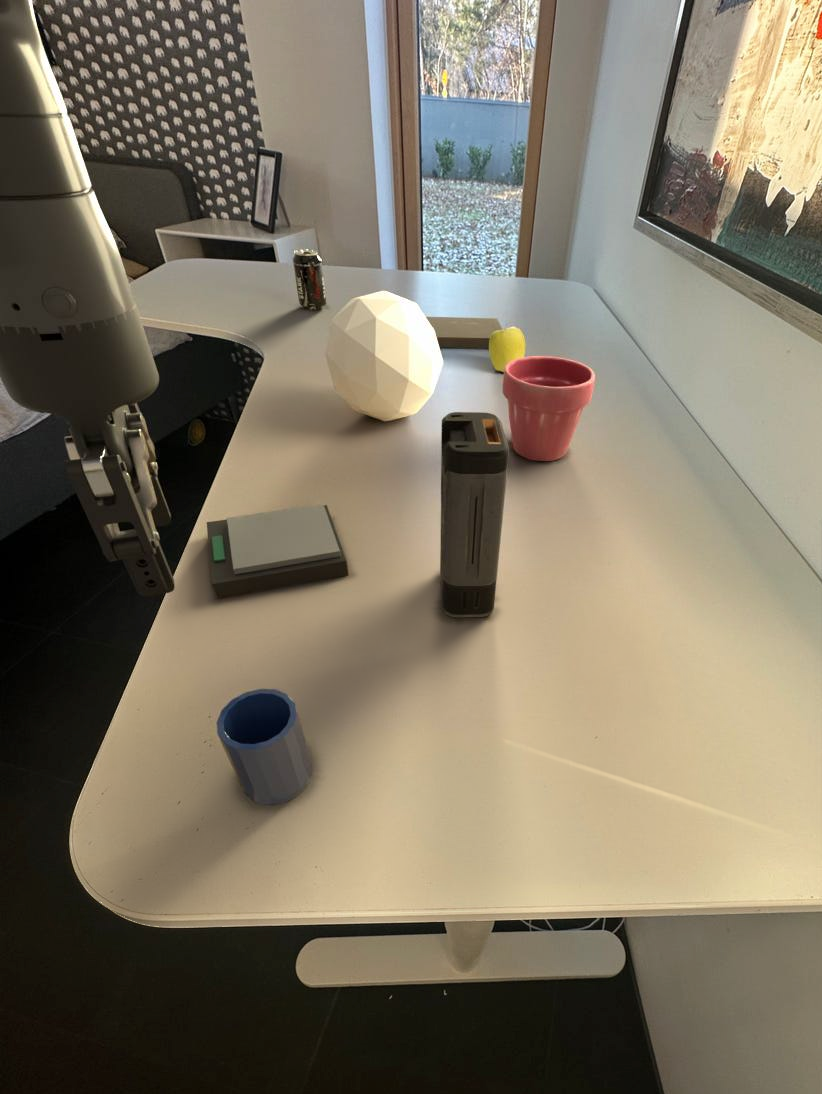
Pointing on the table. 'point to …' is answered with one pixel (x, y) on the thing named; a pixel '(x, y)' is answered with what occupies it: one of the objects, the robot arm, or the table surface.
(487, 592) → the electronic device
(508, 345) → the apple
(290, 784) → the cup
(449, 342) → the hardcover book
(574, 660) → the table surface
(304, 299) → the beverage can
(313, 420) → the table surface
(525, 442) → the flower pot
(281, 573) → the kitchen scale
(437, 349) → the geometric sculpture
